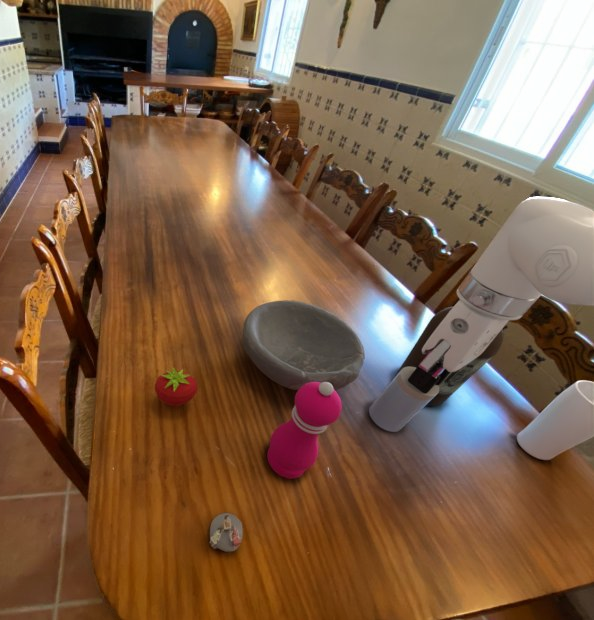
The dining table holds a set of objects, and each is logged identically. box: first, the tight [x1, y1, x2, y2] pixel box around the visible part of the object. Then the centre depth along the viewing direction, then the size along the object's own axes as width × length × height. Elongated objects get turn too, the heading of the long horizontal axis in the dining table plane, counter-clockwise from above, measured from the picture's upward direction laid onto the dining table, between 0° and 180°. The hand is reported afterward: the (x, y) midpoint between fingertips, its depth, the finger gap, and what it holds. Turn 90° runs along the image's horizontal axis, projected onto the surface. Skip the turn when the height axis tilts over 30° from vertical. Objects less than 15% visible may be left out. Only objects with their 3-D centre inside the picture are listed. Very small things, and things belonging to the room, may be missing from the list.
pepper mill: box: [266, 382, 343, 480], centre depth 53 cm, size 7×7×20 cm
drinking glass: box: [516, 379, 594, 461], centre depth 60 cm, size 7×7×15 cm
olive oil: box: [394, 305, 504, 407], centre depth 65 cm, size 11×11×25 cm
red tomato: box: [154, 366, 198, 407], centre depth 63 cm, size 6×8×10 cm
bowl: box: [242, 299, 366, 391], centre depth 72 cm, size 23×22×10 cm
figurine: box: [209, 512, 243, 553], centre depth 48 cm, size 5×4×6 cm
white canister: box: [368, 364, 439, 433], centre depth 62 cm, size 6×6×16 cm
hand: (423, 382), depth 59 cm, fingers closed on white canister, 2 cm apart
